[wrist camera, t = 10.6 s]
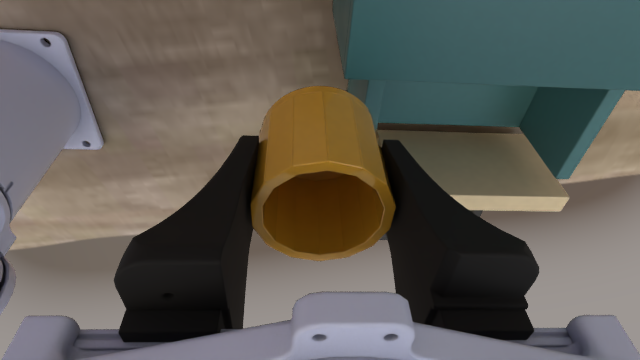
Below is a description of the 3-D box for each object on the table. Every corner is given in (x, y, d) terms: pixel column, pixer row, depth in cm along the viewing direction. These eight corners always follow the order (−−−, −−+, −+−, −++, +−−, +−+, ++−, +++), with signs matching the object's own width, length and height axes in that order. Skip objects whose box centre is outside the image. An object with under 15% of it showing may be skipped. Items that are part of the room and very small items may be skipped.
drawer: (492, 199, 32) (525, 264, 27) (326, 196, 31) (330, 263, 26) (615, -51, 20) (709, -11, 16) (352, -68, 19) (370, -31, 15)
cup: (262, 178, 18) (254, 261, 15) (258, 81, 15) (246, 159, 12) (366, 180, 19) (381, 262, 15) (384, 86, 15) (408, 162, 12)
